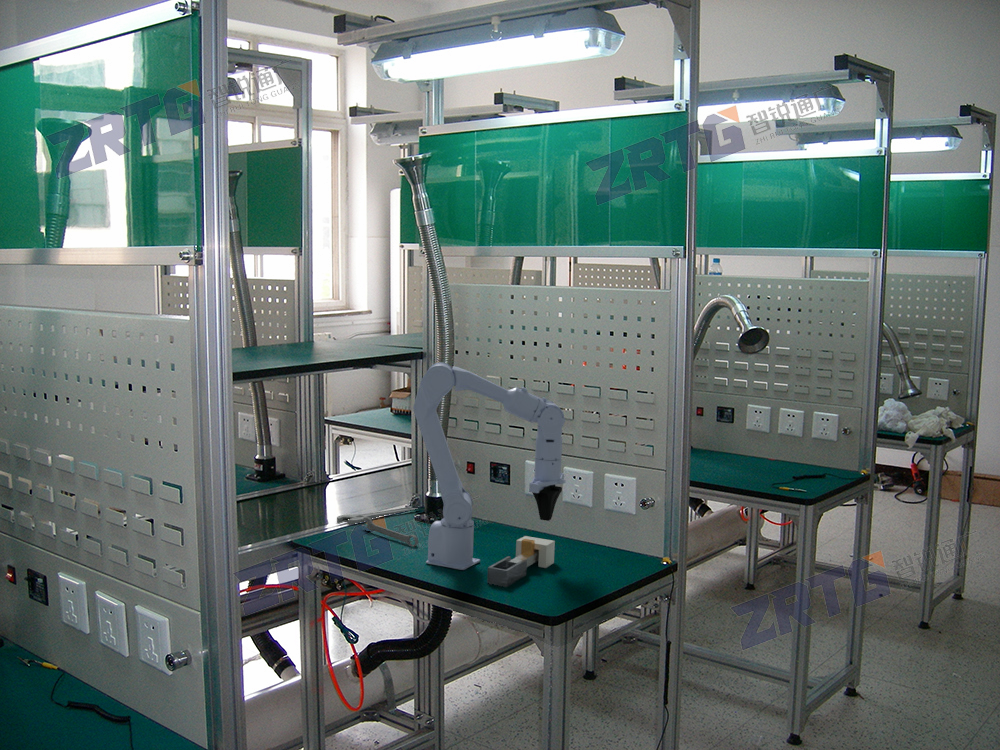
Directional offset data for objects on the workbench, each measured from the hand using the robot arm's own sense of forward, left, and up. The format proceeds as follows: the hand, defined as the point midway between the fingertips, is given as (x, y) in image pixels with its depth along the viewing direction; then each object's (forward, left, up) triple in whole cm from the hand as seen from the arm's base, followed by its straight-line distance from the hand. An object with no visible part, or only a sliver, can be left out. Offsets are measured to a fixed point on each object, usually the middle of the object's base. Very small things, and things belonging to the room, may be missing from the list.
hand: (545, 519), depth 200 cm
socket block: (-3, +1, -10) cm, 11 cm away
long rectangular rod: (-3, -4, -9) cm, 11 cm away
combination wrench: (-41, 0, -11) cm, 42 cm away
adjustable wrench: (-53, +16, -11) cm, 57 cm away
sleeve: (-3, -13, -10) cm, 16 cm away
